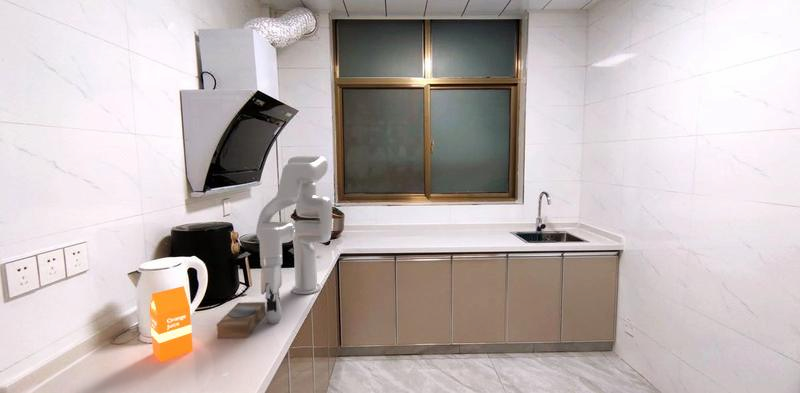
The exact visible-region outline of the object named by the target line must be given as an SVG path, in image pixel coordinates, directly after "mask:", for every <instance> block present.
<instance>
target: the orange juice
mask: <svg viewBox="0 0 800 393" xmlns="http://www.w3.org/2000/svg"><path fill="white" fill-rule="evenodd" d="M185 289H186V288H185V286H184V285H183V286H182V285H181V286H179V287H175V288H171V289H170V288H169V289H166V290H163V291H158V292H154V293H151V299H150V305H149V318H150V320H149V321H150V333H151V334H150V335H151V343H152V353H153V356H155V358H156V359H157V360H158V361H159V362H160V363H163V362H166V361H169V360H172V359H175V358H177V357H180V356H182V355H185V354H188V353H191V352H193V351H194V350H193V349H194V348H193V337H192V336H193V335H192V330H193V329H192V321H191V320H192V319H191V306H190V303H189V299H188V296H187V293H186V290H185Z"/></svg>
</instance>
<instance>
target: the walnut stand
mask: <svg viewBox="0 0 800 393" xmlns="http://www.w3.org/2000/svg"><path fill="white" fill-rule="evenodd" d="M265 316H266V301H263V302H262V301H261V302H260V301H258V302H257V301H254V302H252V301H251V302H249V301H248V302H238V303H236V304H235V305H234V306H233V307H232V308H231V309H230V310H229V311H228V313H226V314H225V315H224V316H223V317H222V318H221V319H220V320H219V321H218V322H217V323H216V333H217V334H216V335H217V336H216V337H217V339H220V340H221V339H248V338H249V337H250V336H251V335H252V334H253V332H254V331H255V329H256V328H257V327H258V326H259V324H260V323H261V322H262V320H264V318H265Z"/></svg>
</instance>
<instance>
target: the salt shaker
mask: <svg viewBox="0 0 800 393" xmlns="http://www.w3.org/2000/svg"><path fill="white" fill-rule="evenodd" d="M278 292H279V293H280V288H279V289H278V291H277V292H276V293H275V301H276V307H277V311H276V312H275V311H274V309H273V310H272V311H270V310H269V312H267V308H265V313H266V315H265V316H264V318H265V319H266V321H267V322H268V324H271V325H275V324H278V323H279V322H280V321H281V319H282V317H283V311H282V307H281V304H280V297H279V296H278ZM270 293H272V291H271V292H270ZM270 296H272V297H273V295H270ZM278 297H279V298H278Z"/></svg>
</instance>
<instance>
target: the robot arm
mask: <svg viewBox="0 0 800 393" xmlns="http://www.w3.org/2000/svg"><path fill="white" fill-rule="evenodd" d="M287 161H288V162H287V163H286V164H285V165H284V167H283V168H282V172H281V174H280V175H281V176H280V180H279V184H278V189H277V193H276V195H275V197H273V198H272V199H271V200H270V201H269V202H267V204H266V205H265V206H264V207H263V208H262V210H261V211H260V214H259V217H258V221H257V224H256V231H255V233H256V238H257V239H258V240H259V258H260V260H259V262H260V267H261V271H260V272H261V273H260V294H261V295H264V294H265V297H264V298H265V300H266V309H267V312H269V310H270V311H272V310H273V309H274V311H275V312H276V311H277V307H276V301H275V293H276V292H277V291H278V289H279V290H280V289H281V287H282V283H283V278H282V277H283V276H282V265H283V244H285V243H286V244H287V243H290V242H291V241H292V244H293V252H294V256H293V258H294V260H293V261H294V279H295V280H294V282H295V284H294V285H293V286H292V288H291V292H292V293H293V294H295V295H296V294H297V295H312V294H315V293H317V292H319V291H320V290H321V284H319V283H318V275H317V274H318V271H317V270H318V268H317V250H316V247H315V246H314V244H313V243H327V242H329V241H330V240H331V238H332V237H331V236H332V228H333V227H332V226H333V225H332V224H333V221H332V220H333V204H332V200H331V198H329V197H327V196H319V195H317V184H316V183H318V182H319V181H320V180H321V179H322V178H323V177H324V176H326V174H327V172H328V168H329V167H328V165H329V164H328V161H327V159H326V158H325V157H323V156H319V155H318V156H317V155H315V156H312V155H311V156H307V155H304V156H303V155H301V156H300V155H299V156H292V157H290V158H289V159H288V160H287ZM293 205H295V213H296V215H297V216H298V217H300V218H312V219H313V218H315V219H317V218H318V219H319V220H297V221H295V222H294V223H291V222H288V221H282V222H281V221H271V220H272V219H273V217H274V216H275V215H276V214H277V213H278V212H280V211H282V210H285V209H286V208H288V207H291V206H293ZM271 291H272V293H270V292H271ZM270 295H273V297H272V296H270ZM278 298H279V299H280V291H279V292H278Z"/></svg>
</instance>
